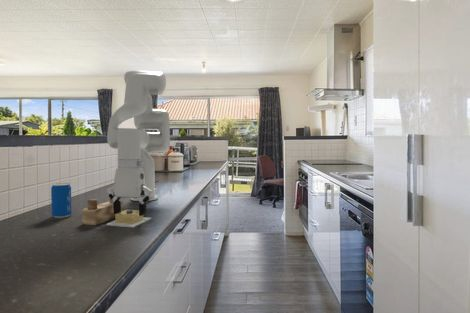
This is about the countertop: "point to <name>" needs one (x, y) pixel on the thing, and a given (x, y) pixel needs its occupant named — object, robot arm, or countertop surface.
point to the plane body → (98, 212)
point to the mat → (129, 224)
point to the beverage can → (61, 200)
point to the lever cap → (128, 216)
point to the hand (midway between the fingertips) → (129, 213)
